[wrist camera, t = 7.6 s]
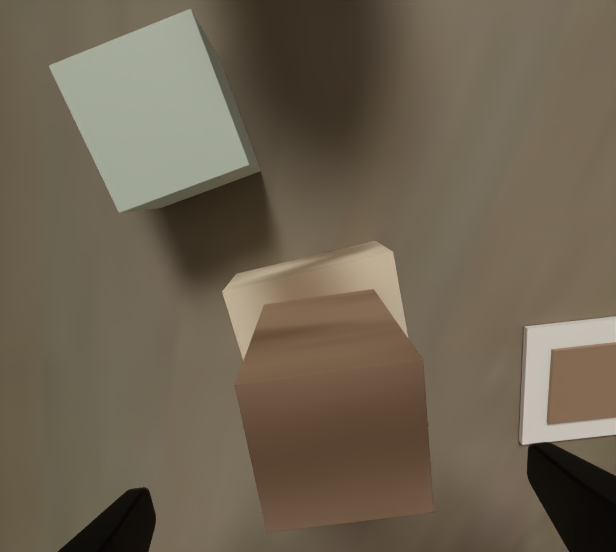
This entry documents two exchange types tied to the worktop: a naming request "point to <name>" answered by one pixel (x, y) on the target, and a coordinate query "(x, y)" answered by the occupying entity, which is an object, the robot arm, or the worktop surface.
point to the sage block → (157, 114)
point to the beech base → (313, 284)
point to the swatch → (568, 381)
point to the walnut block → (335, 413)
